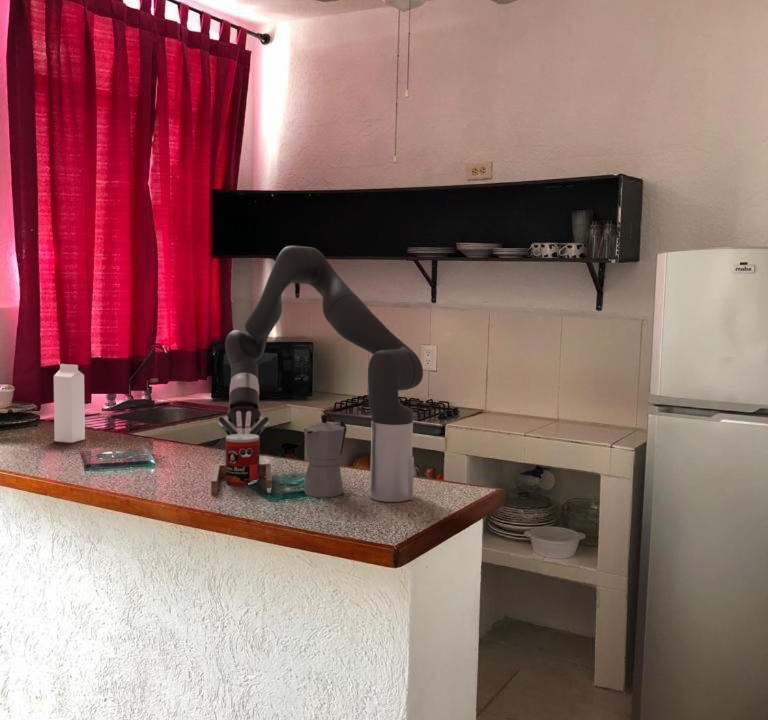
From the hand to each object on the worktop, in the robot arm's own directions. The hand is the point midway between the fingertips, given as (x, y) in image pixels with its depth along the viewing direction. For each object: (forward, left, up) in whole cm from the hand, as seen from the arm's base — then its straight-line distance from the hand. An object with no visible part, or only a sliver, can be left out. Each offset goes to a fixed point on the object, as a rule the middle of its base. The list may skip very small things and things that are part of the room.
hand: (243, 451), depth 212 cm
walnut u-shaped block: (0, +11, -6) cm, 12 cm away
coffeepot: (-19, +18, -6) cm, 27 cm away
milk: (+50, -45, -6) cm, 68 cm away
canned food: (0, +8, -6) cm, 10 cm away
